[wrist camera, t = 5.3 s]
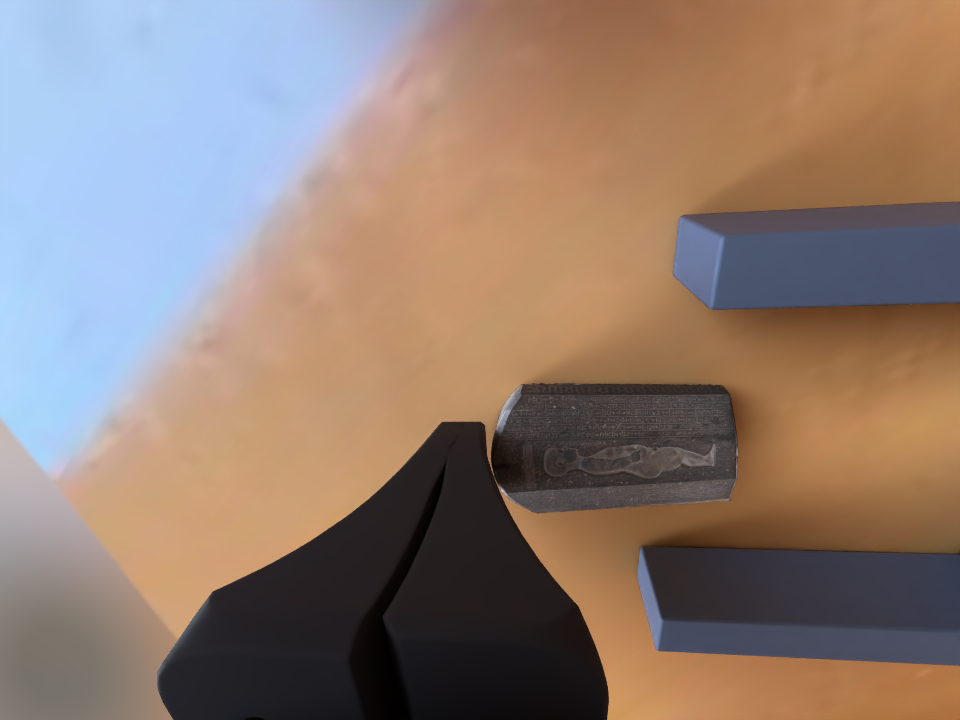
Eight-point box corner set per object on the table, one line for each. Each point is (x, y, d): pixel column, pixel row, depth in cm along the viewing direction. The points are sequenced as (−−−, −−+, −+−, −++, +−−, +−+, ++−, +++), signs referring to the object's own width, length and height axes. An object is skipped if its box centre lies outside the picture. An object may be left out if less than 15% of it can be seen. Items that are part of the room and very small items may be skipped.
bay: (990, 587, 14) (1078, 673, 12) (635, 576, 15) (655, 652, 13) (1224, 187, 9) (1452, 203, 7) (678, 214, 10) (721, 234, 8)
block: (715, 470, 13) (742, 517, 11) (506, 490, 14) (503, 536, 12) (716, 355, 12) (748, 390, 10) (483, 386, 13) (477, 423, 11)
